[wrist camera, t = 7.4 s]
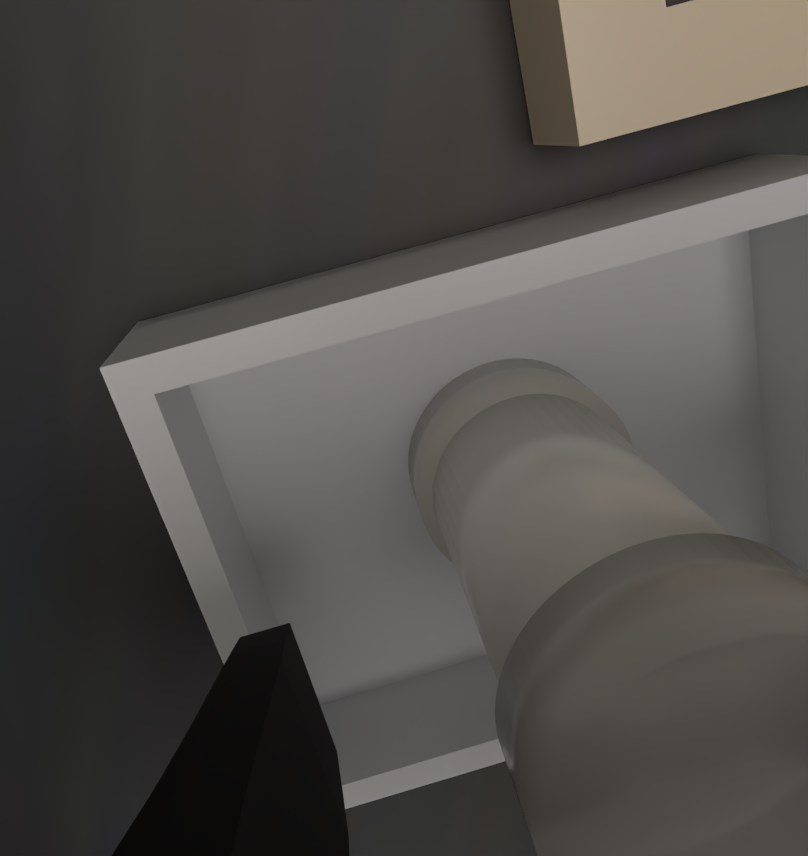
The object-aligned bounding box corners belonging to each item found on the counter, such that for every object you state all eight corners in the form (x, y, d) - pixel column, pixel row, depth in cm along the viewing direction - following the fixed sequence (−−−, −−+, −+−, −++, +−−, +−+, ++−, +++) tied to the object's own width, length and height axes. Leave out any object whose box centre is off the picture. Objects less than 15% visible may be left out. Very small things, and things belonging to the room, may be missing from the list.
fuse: (595, 337, 12) (939, 563, 6) (615, 519, 13) (914, 873, 7) (389, 385, 12) (502, 675, 6) (428, 566, 13) (559, 975, 7)
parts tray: (756, 153, 12) (867, 157, 10) (781, 572, 15) (870, 650, 13) (137, 321, 12) (99, 367, 9) (291, 716, 15) (291, 825, 12)
